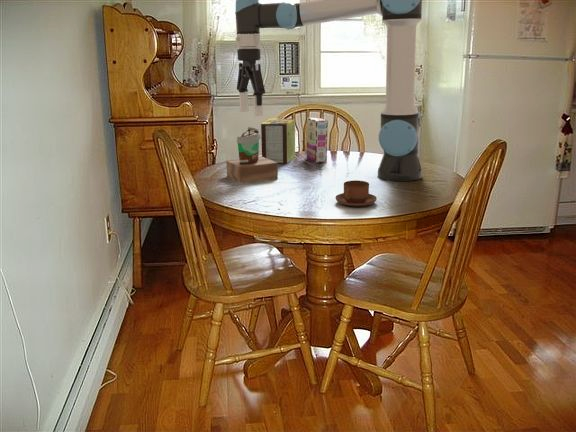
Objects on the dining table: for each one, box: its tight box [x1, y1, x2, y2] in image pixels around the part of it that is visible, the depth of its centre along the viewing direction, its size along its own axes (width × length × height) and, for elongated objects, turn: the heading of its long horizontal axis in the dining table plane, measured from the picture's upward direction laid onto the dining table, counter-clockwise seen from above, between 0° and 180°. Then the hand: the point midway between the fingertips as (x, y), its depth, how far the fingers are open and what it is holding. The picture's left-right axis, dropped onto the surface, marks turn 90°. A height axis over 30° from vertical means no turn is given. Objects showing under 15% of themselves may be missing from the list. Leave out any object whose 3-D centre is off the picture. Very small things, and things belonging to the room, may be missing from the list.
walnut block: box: [226, 156, 279, 184], centre depth 200 cm, size 12×14×6 cm
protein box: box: [260, 117, 296, 165], centre depth 228 cm, size 10×15×16 cm
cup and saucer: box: [335, 180, 378, 207], centre depth 168 cm, size 12×12×6 cm
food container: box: [236, 126, 261, 164], centre depth 196 cm, size 12×6×10 cm, turn 165°
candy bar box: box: [306, 117, 329, 164], centre depth 226 cm, size 11×5×16 cm, turn 17°
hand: (251, 113), depth 193 cm, fingers open, 13 cm apart
